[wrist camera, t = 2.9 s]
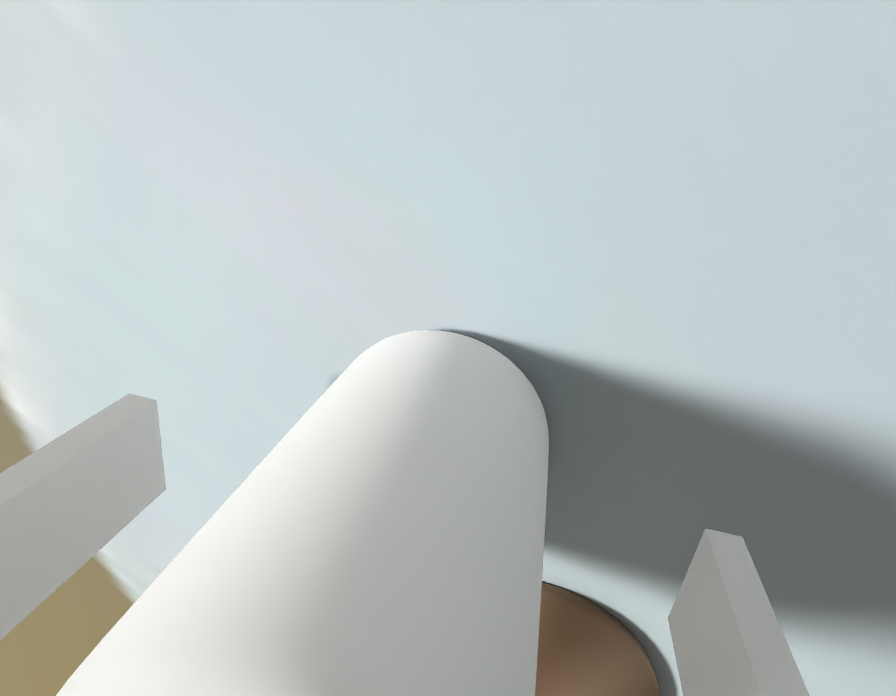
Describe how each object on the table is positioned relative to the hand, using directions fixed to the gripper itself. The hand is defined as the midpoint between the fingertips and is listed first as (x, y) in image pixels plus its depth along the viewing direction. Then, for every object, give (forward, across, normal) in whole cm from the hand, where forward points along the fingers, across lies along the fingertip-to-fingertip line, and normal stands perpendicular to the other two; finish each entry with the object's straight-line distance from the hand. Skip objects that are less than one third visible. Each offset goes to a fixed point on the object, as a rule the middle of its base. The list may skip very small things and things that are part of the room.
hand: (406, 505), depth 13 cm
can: (+4, 0, 0) cm, 4 cm away
